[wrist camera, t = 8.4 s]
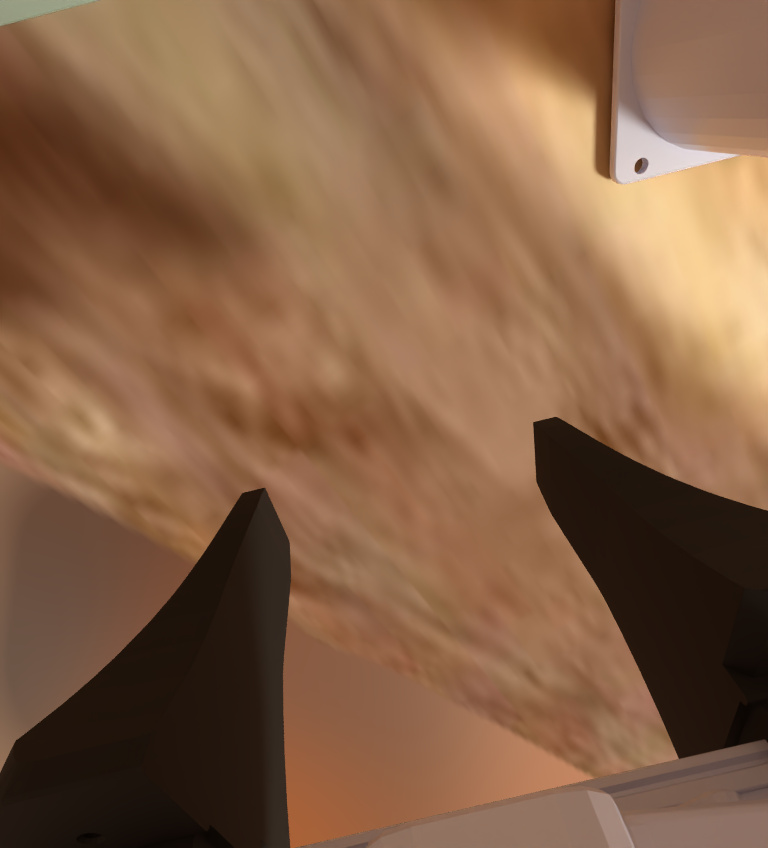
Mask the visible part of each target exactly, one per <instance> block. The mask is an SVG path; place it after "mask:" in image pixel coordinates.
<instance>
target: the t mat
mask: <svg viewBox="0 0 768 848" xmlns="http://www.w3.org/2000/svg"><path fill="white" fill-rule="evenodd" d="M95 1H99V0H0V26H3V25H7V24H11V23H15V22H19V21H23V20H26V19H30V18H34V17H38V16H42V15H45V14H49V13H53V12H57V11H61V10H64V9H68V8H72V7H76V6H80V5H83V4H87V3H91V2H95Z"/></svg>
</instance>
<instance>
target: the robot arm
mask: <svg viewBox="0 0 768 848" xmlns="http://www.w3.org/2000/svg"><path fill="white" fill-rule="evenodd" d="M740 155H746V156H756V157H766V158H768V0H616V2H615V31H614V59H613V88H612V117H611V145H610V177H611V179H612V180H613V181H614V182H616V183H618V184H628V183H632V182H636V181H640V180H644V179H648V178H652V177H656V176H660V175H664V174H668V173H672V172H676V171H680V170H684V169H688V168H692V167H696V166H700V165H704V164H708V163H712V162H716V161H720V160H724V159H728V158H732V157H736V156H740ZM640 158H641V159H642V162H643V164H642V167H641V169H640V170H639V171H638V172H635V170H634V166H635V163H636V162H637V161H638V160H639V159H640ZM533 426H534V444H535V463H536V481H537V484H538V486H539V488H540V491H541V493H542V495H543V497H544V499H545V502H546V504H547V506H548V508H549V510H550V512H551V514H552V516H553V517H554V519H555V520H556V522H557V524H558V525H559V527H560V528H561V530H562V532H563V533H564V535H565V536H566V538H567V539H568V541H569V543H570V544H571V546H572V547H573V549H574V550H575V552H576V553H577V555H578V557H579V558H580V560H581V561H582V563H583V564H584V566H585V568H586V569H587V571H588V572H589V574H590V575H591V577H592V578H593V580H594V582H595V583H596V585H597V587H598V588H599V590H600V592H601V593H602V595H603V597H604V599H605V601H606V603H607V605H608V607H609V609H610V611H611V613H612V615H613V617H614V619H615V620H616V622H617V624H618V626H619V628H620V630H621V632H622V634H623V637H624V639H625V641H626V643H627V645H628V647H629V649H630V651H631V653H632V655H633V657H634V659H635V661H636V664H637V666H638V668H639V670H640V672H641V674H642V676H643V679H644V681H645V683H646V685H647V687H648V689H649V692H650V694H651V696H652V698H653V700H654V703H655V705H656V707H657V709H658V711H659V714H660V716H661V718H662V720H663V723H664V725H665V727H666V730H667V732H668V734H669V737H670V739H671V741H672V744H673V746H674V748H675V751H676V753H677V755H678V758H679V759H677V760H673V761H669V762H664V763H660V764H656V765H651V766H647V767H643V768H638V769H634V770H630V771H625V772H621V773H617V774H612V775H608V776H604V777H599V778H595V779H591V780H586V781H583V782H578V783H574V784H569V785H565V786H561V787H556V788H552V789H548V790H543V791H539V792H535V793H531V794H526V795H522V796H517V797H513V798H509V799H504V800H500V801H496V802H491V803H487V804H483V805H478V806H474V807H470V808H465V809H461V810H457V811H452V812H448V813H444V814H440V815H435V816H431V817H427V818H422V819H418V820H414V821H409V822H405V823H400V824H396V825H392V826H388V827H383V828H379V829H375V830H370V831H366V832H362V833H357V834H353V835H349V836H344V837H340V838H336V839H332V840H327V841H323V842H319V843H314V844H310V845H306V846H301V847H297V848H768V511H767V510H763V509H760V508H756V507H752V506H749V505H746V504H743V503H740V502H736V501H733V500H730V499H727V498H724V497H721V496H718V495H715V494H712V493H709V492H706V491H704V490H701V489H698V488H696V487H693V486H691V485H688V484H686V483H683V482H680V481H678V480H675V479H673V478H671V477H668V476H666V475H664V474H661V473H659V472H657V471H655V470H653V469H651V468H649V467H647V466H645V465H642V464H640V463H638V462H636V461H634V460H632V459H630V458H628V457H626V456H624V455H623V454H621V453H619V452H617V451H615V450H613V449H611V448H610V447H608V446H606V445H604V444H602V443H601V442H599V441H597V440H595V439H594V438H592V437H590V436H589V435H587V434H585V433H583V432H582V431H580V430H578V429H577V428H575V427H573V426H572V425H570V424H568V423H567V422H565V421H563V420H561V419H560V418H558V417H553V418H549V419H545V420H541V421H537V422H533ZM290 582H291V564H290V544H289V540H288V537H287V535H286V533H285V531H284V529H283V526H282V524H281V522H280V520H279V518H278V515H277V513H276V511H275V509H274V507H273V504H272V502H271V500H270V498H269V496H268V493H267V491H266V489H265V488H261V489H257V490H253V491H249V492H245V493H242V495H241V496H240V498H239V499H238V501H237V502H236V504H235V505H234V507H233V509H232V510H231V512H230V513H229V515H228V517H227V518H226V520H225V521H224V523H223V524H222V526H221V528H220V529H219V531H218V532H217V534H216V535H215V537H214V539H213V540H212V542H211V543H210V545H209V546H208V548H207V549H206V551H205V552H204V554H203V555H202V556H201V558H200V559H199V561H198V562H197V563H196V565H195V566H194V568H193V569H192V570H191V572H190V573H189V574H188V576H187V577H186V579H185V580H184V581H183V583H182V584H181V585H180V587H179V588H178V589H177V591H176V592H175V593H174V594H173V596H172V597H171V598H170V599H169V600H168V601H167V603H166V604H165V605H164V606H163V607H162V608H161V610H160V611H159V612H158V613H157V614H156V615H155V617H154V618H153V619H152V620H151V621H150V622H149V623H148V624H147V625H146V626H145V627H144V628H143V629H142V631H141V632H140V633H139V634H138V635H137V636H136V637H135V638H134V639H133V640H132V641H131V642H130V643H129V644H128V645H127V646H126V647H125V648H124V649H123V650H122V651H121V652H120V653H119V654H118V655H117V656H116V657H115V658H114V659H113V660H112V661H111V662H110V663H109V664H108V665H107V666H105V667H104V668H103V669H102V670H101V671H100V672H99V673H98V674H97V675H96V676H95V677H94V678H92V679H91V680H90V681H89V682H88V683H87V684H85V685H84V686H83V687H82V688H81V689H80V690H79V691H78V692H76V693H75V694H74V695H73V696H72V697H70V698H69V699H68V700H67V701H66V702H65V703H63V704H62V705H61V706H60V707H58V708H57V709H56V710H54V711H53V712H52V713H51V714H49V715H48V716H47V717H46V718H44V719H43V720H42V721H41V722H40V723H38V724H37V725H36V726H34V727H33V728H32V729H31V730H29V731H28V732H27V733H26V734H24V735H23V736H22V737H21V738H19V739H18V740H16V742H15V743H14V745H13V747H12V749H11V751H10V754H9V756H8V758H7V760H6V762H5V764H4V766H3V768H2V770H1V772H0V848H290V839H289V826H288V813H287V812H288V811H287V794H286V775H285V755H284V725H283V723H284V721H283V661H284V648H285V637H286V627H287V616H288V605H289V594H290Z"/></svg>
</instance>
